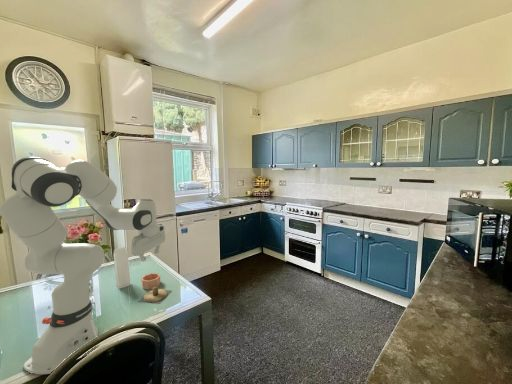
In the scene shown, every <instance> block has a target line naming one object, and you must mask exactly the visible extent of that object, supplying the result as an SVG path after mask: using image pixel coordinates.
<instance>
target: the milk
mask: <svg viewBox="0 0 512 384" xmlns="http://www.w3.org/2000/svg"><path fill="white" fill-rule="evenodd" d="M129 260H130V259H129V253H128V250H127V246H122V247H118V248H115V249H114V250H113V263H114V264H113V266H114V274H115V286H116V287H117V288H118V290H120V289H123V288H126V287H130V286H131V274H130V273H131V272H130V261H129Z"/></svg>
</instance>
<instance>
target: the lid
mask: <svg viewBox="0 0 512 384" xmlns="http://www.w3.org/2000/svg"><path fill="white" fill-rule="evenodd" d="M152 289H153V290H151V289H150V290H151V291H150V290H149V291H148V292H146V293H145V294H144V295H143V297H144V300H145V301H146V302H157V301H160V300H162V299H164V298H165V297H166V296H167V291H166V290H167V289H163V288H159V286H158V287H153V288H152ZM167 297H168V296H167ZM167 297H166V298H167ZM166 298H165V299H166ZM165 299H164V300H165Z"/></svg>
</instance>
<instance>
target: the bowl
mask: <svg viewBox="0 0 512 384" xmlns="http://www.w3.org/2000/svg"><path fill="white" fill-rule="evenodd" d="M140 280H141V288H142V289H143V290H151V289H152V288H153V287H158V288H159V287H160V285H161V283H162V282H161V275H160V274H159V273H158V272H157V273H156V272H152V273H148V274H145V275H143V276H142V277H141V278H140Z"/></svg>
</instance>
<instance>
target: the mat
mask: <svg viewBox="0 0 512 384" xmlns="http://www.w3.org/2000/svg"><path fill="white" fill-rule="evenodd" d="M151 290H153V289H149V291H151ZM165 290H166V291H167V296H166V297H165V298H164V299H162V300H160V301H157V302H146V301H145V300H144V296H142V297H141V298H140V299H139V300H138V301H137V303H147V304H157V305H160V304H162V303H163V301H164V300H165V299H166V298H167V297H168V296H169V295H170V294H171V293H173V290H170V289H165Z"/></svg>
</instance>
